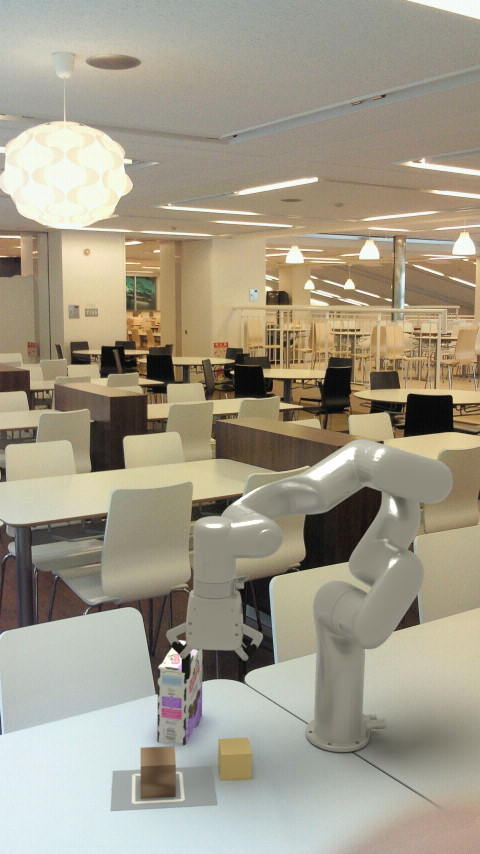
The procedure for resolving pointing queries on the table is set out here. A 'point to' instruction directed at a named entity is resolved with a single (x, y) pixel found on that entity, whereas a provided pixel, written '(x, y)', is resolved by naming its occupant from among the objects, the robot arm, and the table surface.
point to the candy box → (178, 698)
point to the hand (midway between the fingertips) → (214, 677)
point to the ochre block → (234, 758)
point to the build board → (190, 792)
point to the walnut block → (158, 772)
